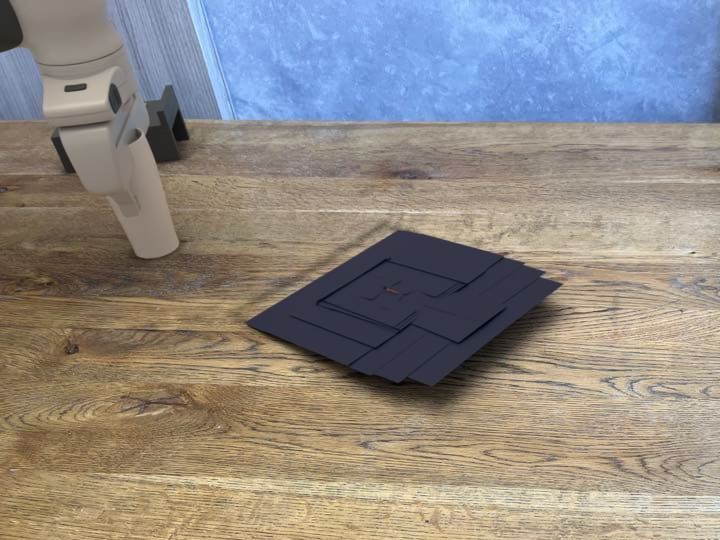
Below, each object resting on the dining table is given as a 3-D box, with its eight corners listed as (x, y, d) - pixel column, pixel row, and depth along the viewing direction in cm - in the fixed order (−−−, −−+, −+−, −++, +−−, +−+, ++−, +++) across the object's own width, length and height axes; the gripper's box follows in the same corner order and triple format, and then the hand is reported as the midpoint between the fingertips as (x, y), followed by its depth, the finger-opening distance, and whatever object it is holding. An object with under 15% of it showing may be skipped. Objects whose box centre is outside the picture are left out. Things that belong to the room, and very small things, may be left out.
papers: (424, 420, 76) (415, 389, 74) (238, 338, 93) (227, 310, 90) (577, 297, 90) (573, 268, 88) (392, 244, 106) (385, 219, 104)
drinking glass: (122, 252, 103) (72, 138, 93) (173, 232, 106) (130, 120, 96) (144, 273, 99) (94, 157, 89) (196, 251, 102) (154, 137, 92)
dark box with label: (68, 178, 119) (43, 123, 113) (83, 149, 126) (60, 96, 121) (182, 164, 121) (163, 110, 115) (189, 136, 128) (172, 84, 123)
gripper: (80, 49, 95) (126, 160, 105) (37, 119, 81) (95, 241, 90) (136, 43, 96) (176, 153, 106) (104, 111, 81) (154, 232, 91)
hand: (139, 194), depth 98 cm, fingers open, 8 cm apart
